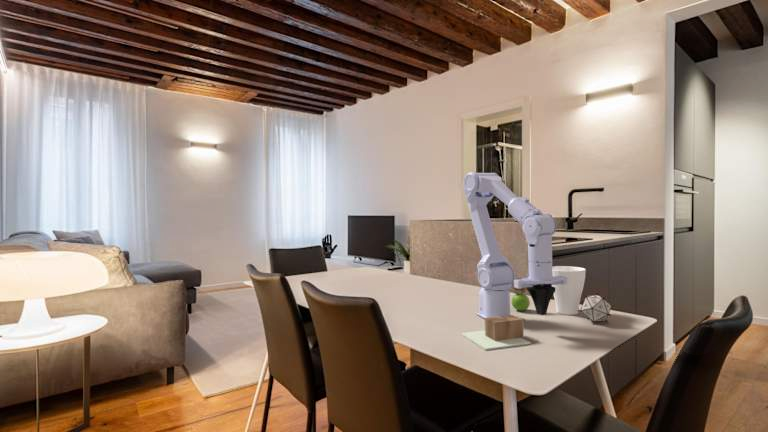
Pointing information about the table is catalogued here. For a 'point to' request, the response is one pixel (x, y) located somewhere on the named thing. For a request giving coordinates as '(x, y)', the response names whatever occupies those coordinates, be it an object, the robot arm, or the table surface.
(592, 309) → the game die
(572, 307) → the cup
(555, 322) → the table surface
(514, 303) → the snail figurine
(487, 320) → the wooden block
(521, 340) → the mat
